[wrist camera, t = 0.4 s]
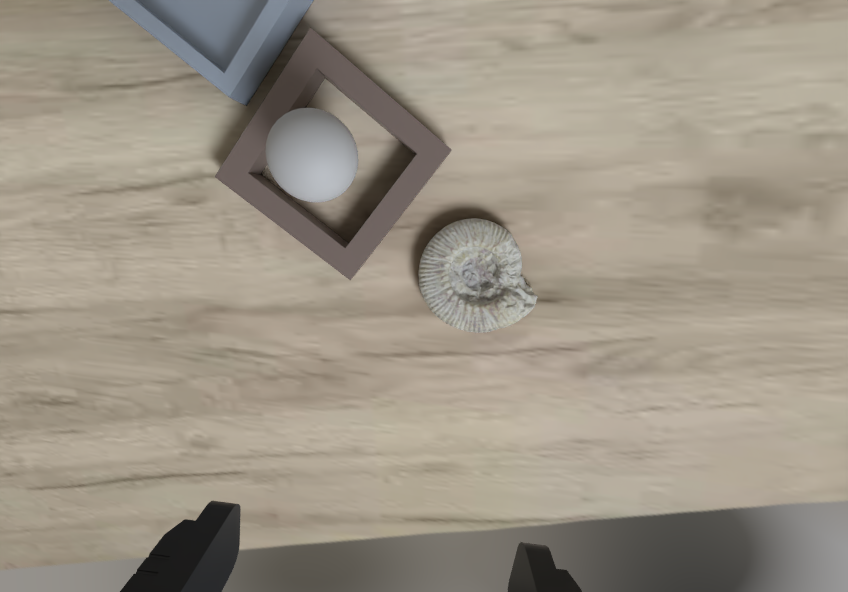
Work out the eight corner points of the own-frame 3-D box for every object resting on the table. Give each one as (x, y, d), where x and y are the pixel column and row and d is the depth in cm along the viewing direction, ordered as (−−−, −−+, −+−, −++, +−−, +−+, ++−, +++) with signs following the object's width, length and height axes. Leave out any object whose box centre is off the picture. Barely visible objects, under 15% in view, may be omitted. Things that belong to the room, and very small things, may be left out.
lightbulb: (298, 190, 35) (242, 187, 24) (311, 119, 34) (258, 84, 23) (364, 209, 35) (337, 214, 25) (380, 140, 34) (359, 114, 23)
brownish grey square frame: (319, 40, 32) (310, 27, 30) (449, 153, 34) (451, 149, 32) (229, 178, 35) (214, 176, 32) (355, 274, 37) (350, 280, 34)
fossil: (566, 287, 33) (484, 362, 36) (555, 274, 37) (482, 344, 40) (470, 198, 31) (392, 285, 34) (469, 194, 35) (398, 273, 38)
